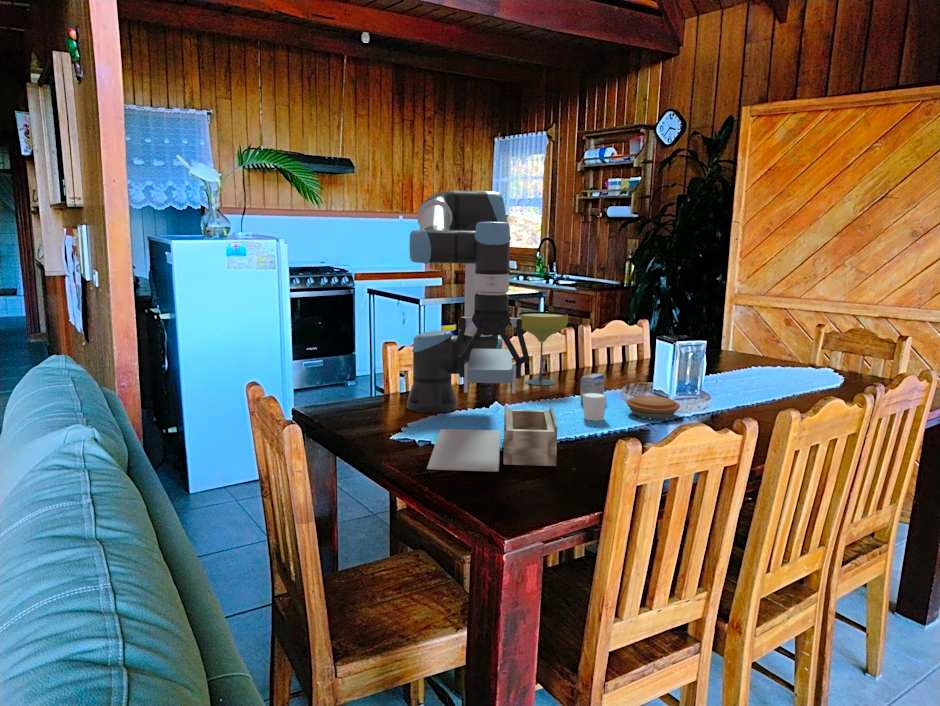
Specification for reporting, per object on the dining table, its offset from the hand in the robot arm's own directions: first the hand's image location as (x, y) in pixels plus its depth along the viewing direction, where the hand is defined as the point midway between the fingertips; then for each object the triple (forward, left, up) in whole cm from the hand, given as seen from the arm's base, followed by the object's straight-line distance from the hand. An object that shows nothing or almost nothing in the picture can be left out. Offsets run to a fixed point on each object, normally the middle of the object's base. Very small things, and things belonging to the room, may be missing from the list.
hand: (489, 391), depth 154 cm
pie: (+47, +50, -17) cm, 71 cm away
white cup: (+29, +44, -17) cm, 55 cm away
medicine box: (+31, +65, -17) cm, 74 cm away
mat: (-6, +11, -17) cm, 21 cm away
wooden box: (+9, +10, -17) cm, 22 cm away
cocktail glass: (+16, +93, -17) cm, 96 cm away
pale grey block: (0, +10, +3) cm, 10 cm away
